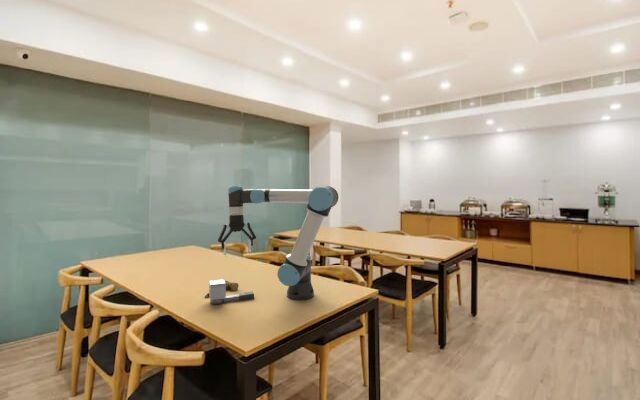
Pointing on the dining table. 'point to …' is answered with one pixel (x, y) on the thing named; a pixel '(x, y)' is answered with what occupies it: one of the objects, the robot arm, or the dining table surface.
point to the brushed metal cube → (217, 289)
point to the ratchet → (233, 298)
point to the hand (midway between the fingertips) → (237, 253)
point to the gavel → (229, 286)
